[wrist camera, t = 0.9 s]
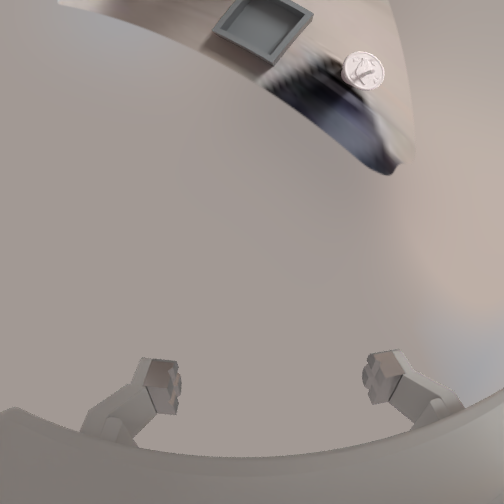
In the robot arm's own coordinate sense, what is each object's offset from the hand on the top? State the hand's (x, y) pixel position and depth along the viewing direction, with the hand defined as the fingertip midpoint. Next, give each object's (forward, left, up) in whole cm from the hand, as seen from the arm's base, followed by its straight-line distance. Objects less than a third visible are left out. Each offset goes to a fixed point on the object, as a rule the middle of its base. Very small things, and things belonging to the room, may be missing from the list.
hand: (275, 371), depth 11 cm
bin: (-25, +1, -44) cm, 51 cm away
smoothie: (-13, +14, -45) cm, 49 cm away
